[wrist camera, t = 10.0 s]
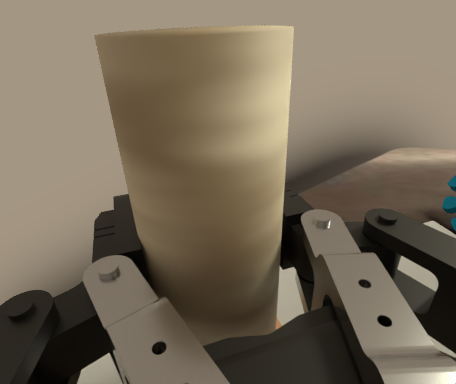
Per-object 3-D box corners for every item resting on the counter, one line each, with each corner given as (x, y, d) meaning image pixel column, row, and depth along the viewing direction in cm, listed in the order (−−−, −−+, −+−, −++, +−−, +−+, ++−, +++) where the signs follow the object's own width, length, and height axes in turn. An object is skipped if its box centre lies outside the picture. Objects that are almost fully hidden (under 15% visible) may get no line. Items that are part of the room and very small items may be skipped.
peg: (249, 324, 17) (249, 24, 10) (291, 412, 13) (336, 27, 6) (164, 351, 16) (97, 32, 9) (182, 456, 12) (89, 41, 5)
